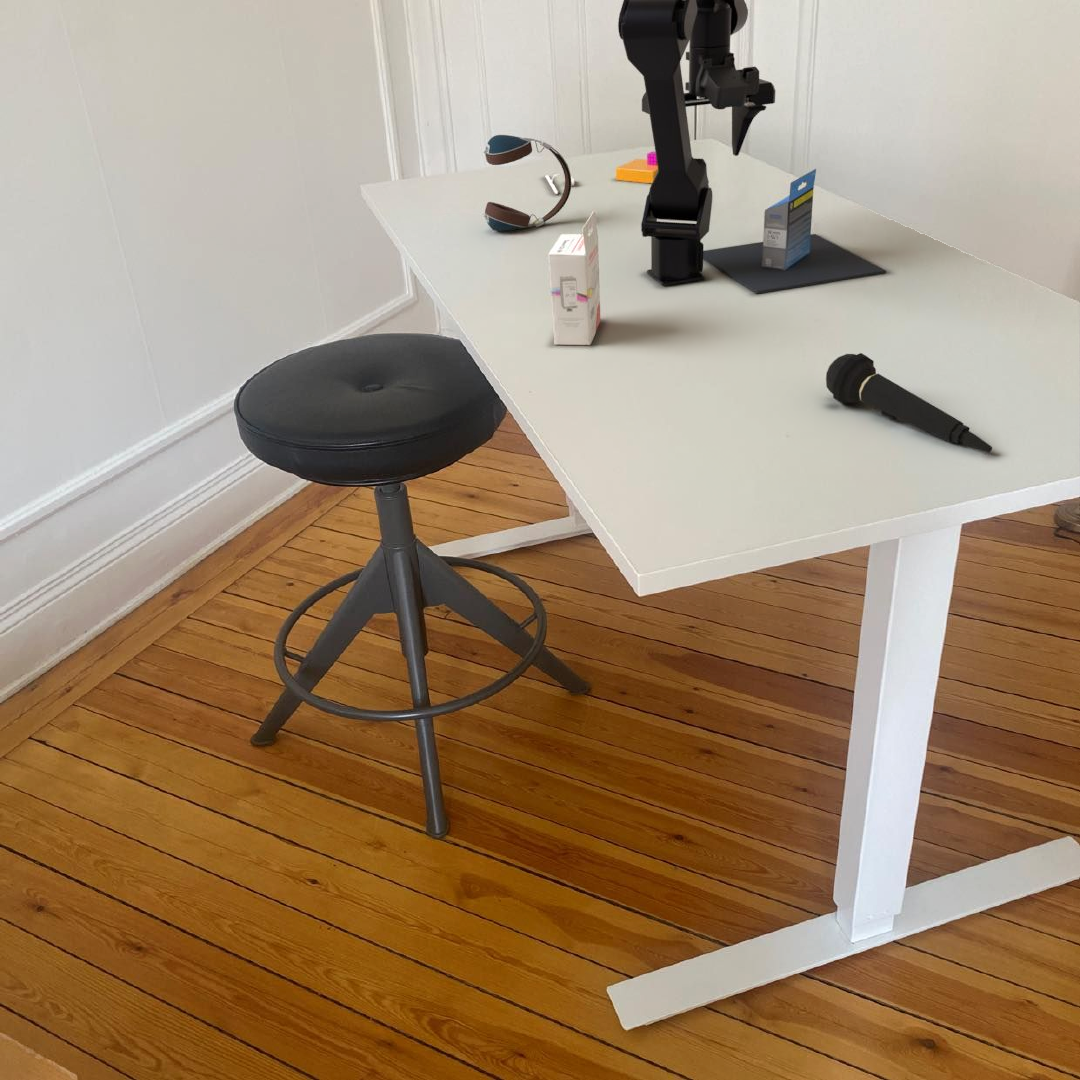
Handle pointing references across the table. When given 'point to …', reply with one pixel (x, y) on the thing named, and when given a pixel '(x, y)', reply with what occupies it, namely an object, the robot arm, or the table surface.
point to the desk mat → (811, 269)
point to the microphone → (893, 400)
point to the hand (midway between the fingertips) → (707, 158)
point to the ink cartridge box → (575, 286)
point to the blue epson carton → (789, 226)
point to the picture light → (554, 185)
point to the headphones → (511, 150)
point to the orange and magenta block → (639, 170)
